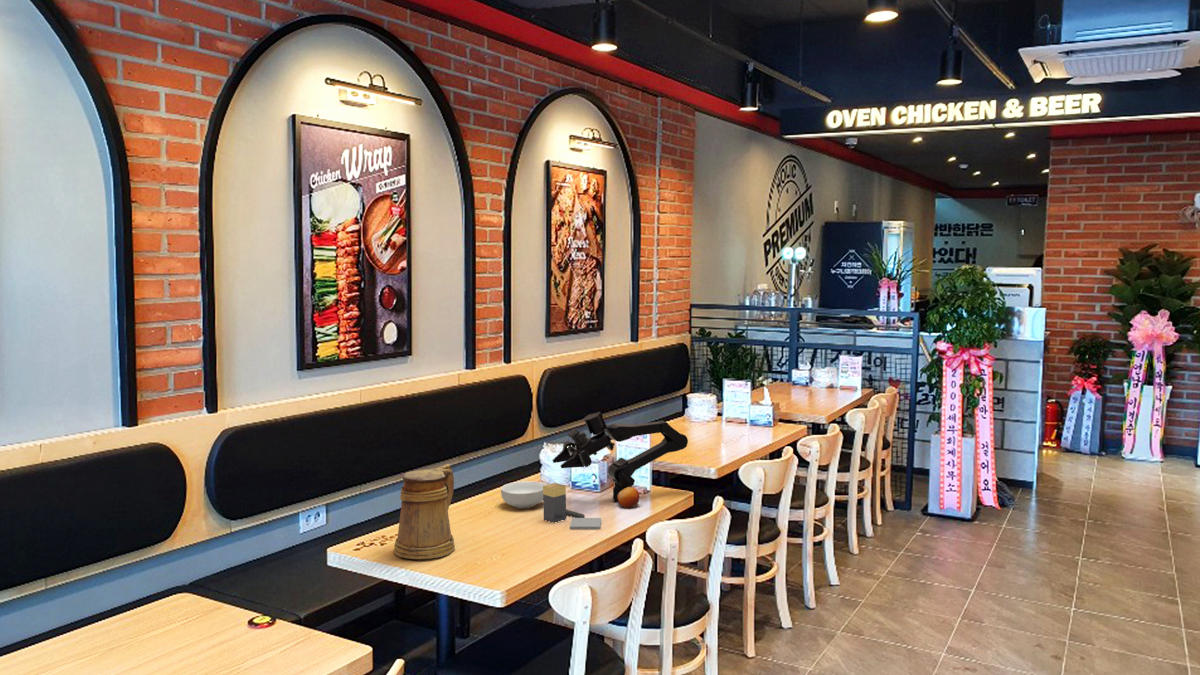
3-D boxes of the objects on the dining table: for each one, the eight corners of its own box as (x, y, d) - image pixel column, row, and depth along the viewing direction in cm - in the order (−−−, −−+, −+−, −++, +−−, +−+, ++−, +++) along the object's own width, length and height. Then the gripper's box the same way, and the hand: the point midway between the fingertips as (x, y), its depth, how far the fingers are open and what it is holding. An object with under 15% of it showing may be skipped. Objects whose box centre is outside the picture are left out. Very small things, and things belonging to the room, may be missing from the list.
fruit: (645, 505, 317) (633, 486, 317) (626, 516, 318) (614, 497, 317) (644, 499, 325) (632, 480, 325) (626, 510, 326) (614, 491, 325)
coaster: (601, 520, 304) (601, 517, 304) (600, 529, 294) (600, 526, 294) (572, 520, 305) (572, 517, 304) (569, 529, 295) (569, 526, 295)
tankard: (381, 556, 270) (378, 475, 268) (430, 534, 291) (427, 459, 289) (429, 565, 262) (427, 481, 260) (475, 542, 283) (473, 464, 281)
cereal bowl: (504, 499, 333) (504, 480, 333) (549, 499, 332) (548, 480, 332) (497, 512, 316) (497, 492, 316) (544, 512, 316) (544, 492, 315)
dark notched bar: (554, 512, 315) (554, 507, 315) (558, 511, 316) (558, 506, 316) (581, 520, 305) (581, 515, 305) (586, 519, 306) (585, 513, 306)
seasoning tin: (555, 516, 310) (555, 482, 309) (566, 519, 306) (565, 485, 305) (543, 520, 306) (543, 485, 305) (554, 523, 302) (553, 488, 301)
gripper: (577, 420, 331) (540, 439, 326) (595, 429, 313) (556, 449, 309) (588, 447, 333) (552, 466, 328) (606, 457, 316) (568, 477, 311)
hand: (556, 464), depth 319 cm, fingers open, 9 cm apart
